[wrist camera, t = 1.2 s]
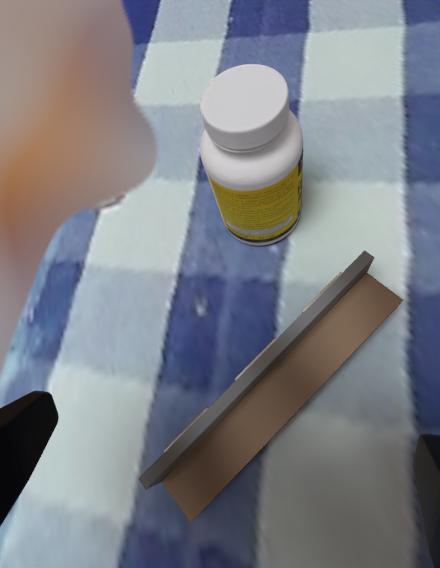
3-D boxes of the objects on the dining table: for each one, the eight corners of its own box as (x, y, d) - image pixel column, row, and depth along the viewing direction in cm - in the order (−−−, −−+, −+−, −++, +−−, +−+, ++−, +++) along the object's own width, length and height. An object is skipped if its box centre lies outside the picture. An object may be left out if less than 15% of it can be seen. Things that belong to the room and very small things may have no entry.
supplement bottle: (314, 230, 23) (325, 114, 14) (237, 259, 24) (202, 165, 15) (284, 169, 26) (277, 35, 17) (214, 197, 26) (170, 80, 17)
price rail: (198, 514, 19) (177, 535, 16) (162, 465, 20) (136, 475, 17) (396, 307, 21) (414, 287, 17) (351, 273, 22) (361, 248, 19)
